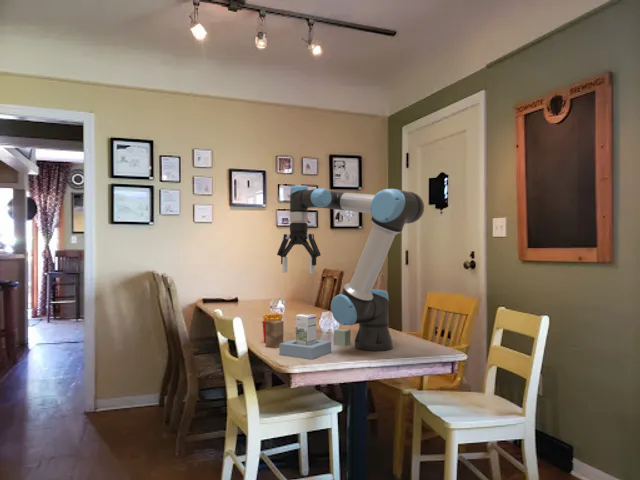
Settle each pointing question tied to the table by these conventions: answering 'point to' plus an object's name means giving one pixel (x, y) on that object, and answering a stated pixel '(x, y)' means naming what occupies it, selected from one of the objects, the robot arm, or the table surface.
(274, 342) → the walnut peg
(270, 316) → the french fries
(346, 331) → the greygreen peg
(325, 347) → the hole block
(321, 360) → the table surface
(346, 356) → the table surface
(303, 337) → the syrup box
